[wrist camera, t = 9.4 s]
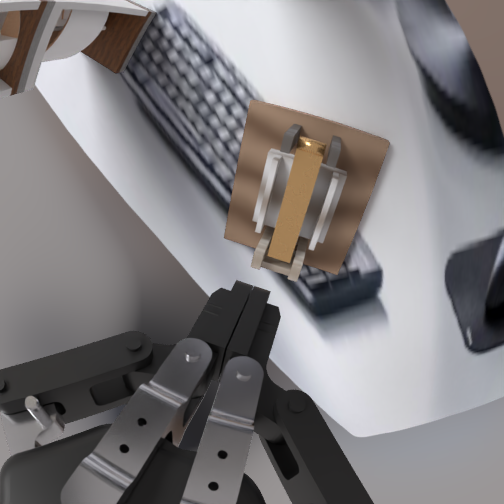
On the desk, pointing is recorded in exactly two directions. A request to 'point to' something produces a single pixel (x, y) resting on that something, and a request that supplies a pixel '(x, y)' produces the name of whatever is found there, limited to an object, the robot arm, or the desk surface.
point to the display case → (65, 35)
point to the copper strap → (296, 197)
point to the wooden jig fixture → (324, 193)
